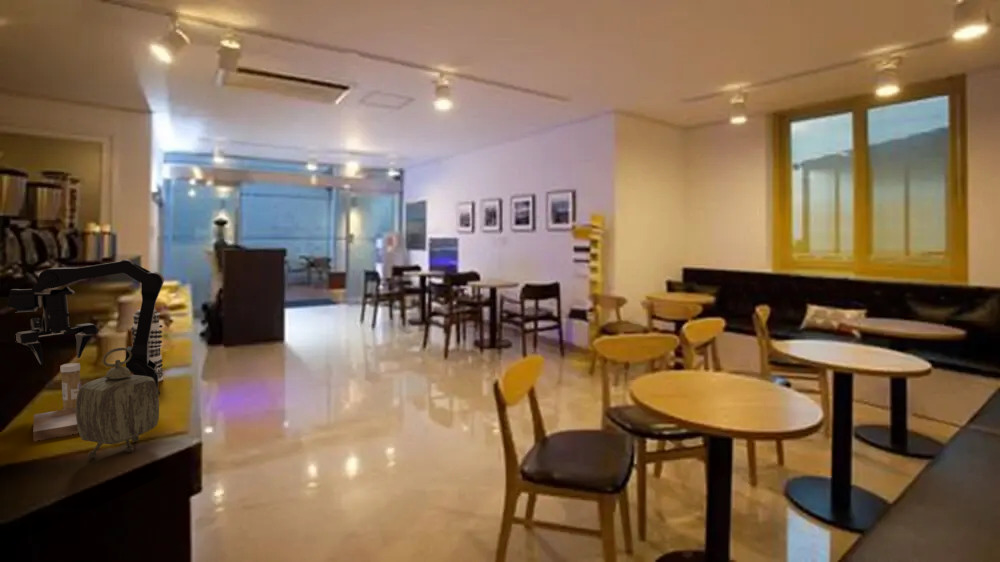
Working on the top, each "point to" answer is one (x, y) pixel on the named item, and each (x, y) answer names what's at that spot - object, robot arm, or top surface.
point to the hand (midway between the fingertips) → (60, 361)
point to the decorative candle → (152, 341)
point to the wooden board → (55, 424)
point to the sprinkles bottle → (70, 384)
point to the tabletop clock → (117, 406)
